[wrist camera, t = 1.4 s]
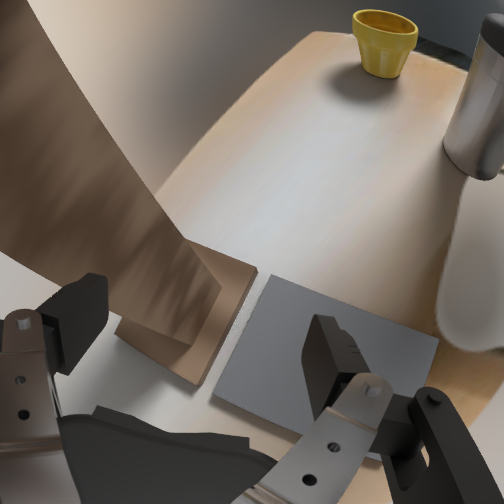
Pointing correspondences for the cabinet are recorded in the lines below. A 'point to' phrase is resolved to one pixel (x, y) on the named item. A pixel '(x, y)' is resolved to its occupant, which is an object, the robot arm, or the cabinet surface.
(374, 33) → the plant pot
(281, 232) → the cabinet surface
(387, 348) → the rubber mat
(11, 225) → the walnut stand
